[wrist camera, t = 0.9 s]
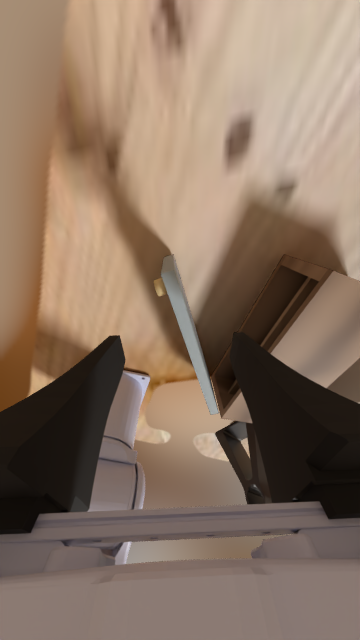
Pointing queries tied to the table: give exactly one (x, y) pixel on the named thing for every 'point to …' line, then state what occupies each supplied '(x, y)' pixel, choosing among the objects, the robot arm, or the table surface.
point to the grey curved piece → (348, 383)
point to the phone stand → (246, 461)
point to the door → (186, 325)
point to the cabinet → (298, 329)
